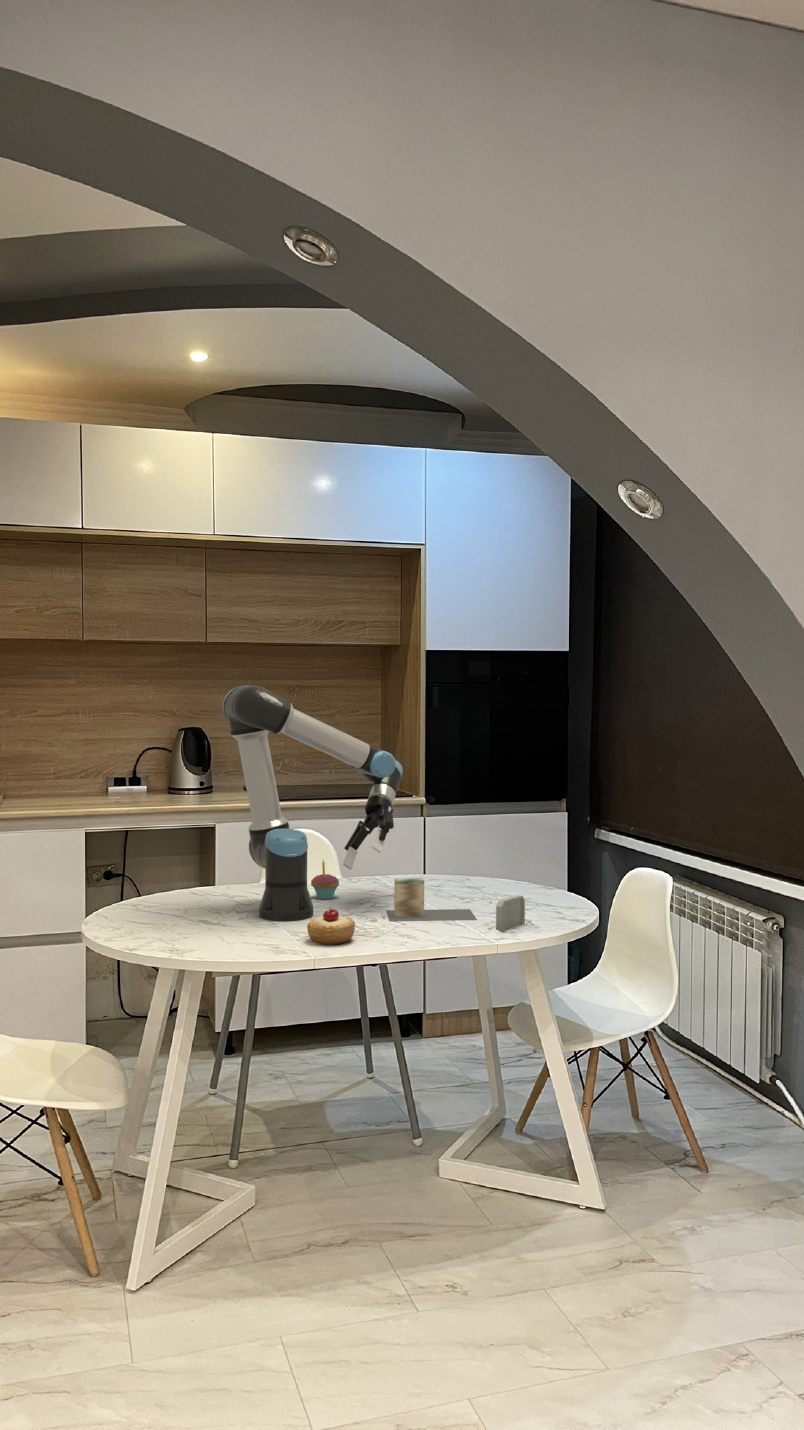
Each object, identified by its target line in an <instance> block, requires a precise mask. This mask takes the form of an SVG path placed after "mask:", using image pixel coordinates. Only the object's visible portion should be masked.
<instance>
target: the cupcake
mask: <svg viewBox="0 0 804 1430" xmlns="http://www.w3.org/2000/svg"><path fill="white" fill-rule="evenodd" d="M321 864H322V874H318V875H315V876H314V877H313V878H312V879H311V882H310V885H311V887H312V888H313V889H314V891H315V894H316V898H317V899H320V900H331V899H333V898H334V896H335V892H336V890H337V888H338V887H339V886H340V883H339V882H340V881H339V878H337V876H334V875H332V874H329V873H327V874H326V868H325V866H326V864H325V861H324V859H322V861H321Z"/></svg>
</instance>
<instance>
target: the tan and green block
mask: <svg viewBox="0 0 804 1430" xmlns="http://www.w3.org/2000/svg"><path fill="white" fill-rule="evenodd" d="M393 890H394V897H393V898H394V903H393V904H394V908H393V910H394V915H395V917H410V916H424V910H425V879H424V878H421V877H417V878H416V877H415V878H414V877H412V878H410V877H409V878H402V877H401V878H394V889H393Z"/></svg>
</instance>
